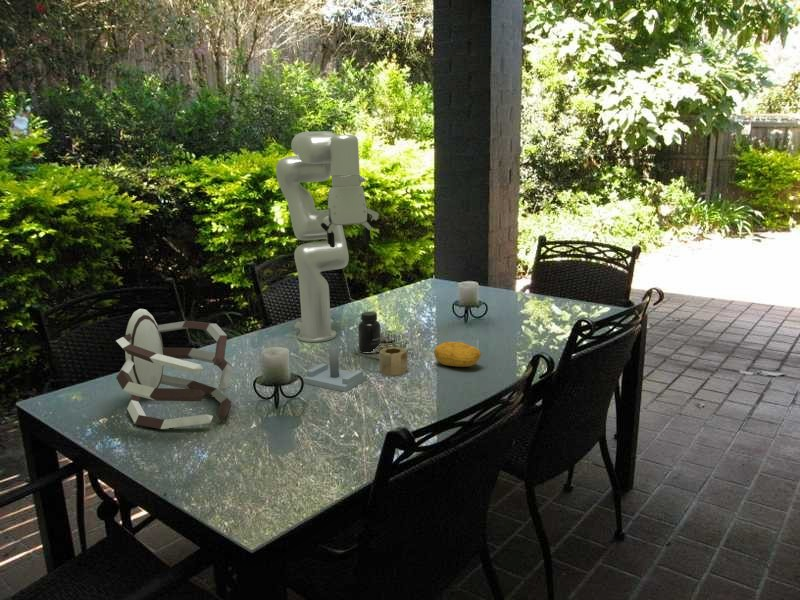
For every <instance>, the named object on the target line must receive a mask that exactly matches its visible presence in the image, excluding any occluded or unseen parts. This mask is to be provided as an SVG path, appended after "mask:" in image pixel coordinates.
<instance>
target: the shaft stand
mask: <svg viewBox="0 0 800 600" xmlns="http://www.w3.org/2000/svg"><path fill="white" fill-rule="evenodd" d="M328 358H329V366H328V363H320V364H318V365H316V366H314V367H312V368H310V369H308V370H306V376H304V377H303V378H302V381H303V380H304V382H305V383H304V384H306V385H311V386H316V387H320V388H324V389H330V390H334V391H338V392H343V393H346V392H348V391H350V390H351V389H353V388H355V387H357V386H359V385H360V384H362V383H363V382H366V381H367V380H368V378H367V377H368V376H367V374H366V373H364V371H363V370H359V369H357V370H355V371H351V370H350V371H349V370H344V369H340V364H339V363H340V362H339V348H338V347H337V346H330V347H329V348H328Z"/></svg>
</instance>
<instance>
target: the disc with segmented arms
mask: <svg viewBox="0 0 800 600" xmlns="http://www.w3.org/2000/svg"><path fill="white" fill-rule="evenodd" d="M156 321H157V320H155V317H154V316H153V315H152V314H151V313H150V312H149V311H148V309H144V308H139V309H137V310H135V311H134V312H133V313H132V315H131V317H130V318H129V320H128V322H127V326H126V331H125V335H124V336H122V337H120V338H118V339H116V340H115V342H116V343H117V344H118V345H119V346H120V347H121V348H122V349H123V350H124V351H125V353H124V354H125V362H124V364H123V365H122V367H121V368H120V371H119V372H118V374H117V375H116V377H115V379H116V381H117V382H118V383H119V386H120V388H121V389H122V390H123V392H126V393H127V394H129V395H131V396H130V399H129V402H128V404H127V407H126V409H127V411H128V413H129V416H130V417H131V419H132V421H133V423H134V422H135V423H136V424H135V423H134V424H135V425H138V424H140V425H139V426H143V427H148V428H154V429H159V430H170V429H169V428H174V429H181V428H187V427H189V428H190V427H193V426H194V427H195V426H196V427H197V426H203V425H210V424H211V422H212V419H213V417H214V415H212V414H211V415H210V414H206V413H205V414H198V415H192V416H190V415H189V416H183V417H176V418H168V419H162V418H157V417H151V416H147V415H146V413H145V411H144V409H143V408H142V406H141V404H140V402H139V401H140V397H141V398H143V399H144V398H145V399H149V400H152V401H156V402H157V401H158V402H201V401H202V400H203V398H204V397H205V396H208V395H209V397H211V396H213V397H212V398H214V397H215V398H214V399H215V400H217V402H219V404H220V405H219V407H218V409H217V413H216V416H217V417H218V418H219V419H220V420H223V419H224V418H225V417H226V416H227V415H228V414H229V410H230V407H231V403H232V401H231V400H230V399H229V398H228V397H227V396H226V395H225V394H224V393H225V392H226V390H227V389H228V387H229V386H230V383H231V379H232V374H233V369H234V367H233V366H232V365H231V364H230V363H229V362H228V361H227V359H225V357H226V356H225V355H226V349H227V340H228V335H227V334H226V332H225V331H223V330H222V328H221V327H220V326H219V325H218V324H217V323H212V322H203V321H202V322H201V321H196V320H195V321H193V320H185V321H177V322H170V323H164V324H158V323H157V322H156ZM184 329H195V330H204V331H205V330H206V332H208V334H209V335H210V336H211V337H212V338H213V339H214V341H215V342H216V346H215V352H213V351H209V350H205V349H200V348H195V347H167V346H166V347H164V345H163V339H162V334H161V333H165V332H171V331H172V332H173V331H177V330H178V331H179V330H184ZM189 360H197V361H201V362H205V363H210V364H213V366H217V367H218V369H220V371H222V372H221V376H220V379H219V384H218V387H217V388H216V387H213V386H210V385H207V384H205V383H201V382H199V381H196V380H192V379H189V378H188V379H187V378H182V377H178V376H171V375H166V374H164V367H167V368H171V369H175V370H179V371H181V372H187V373H190V374H195V375H199V374H201V373H202V372H203V371H204V370H205V369H204V368H203V366H202V364H200V363H195V362H191V361H189ZM161 385H166V386H170V388H167V387H166V388H163V387H162V388H161V387H160V386H161ZM159 387H160V388H159ZM171 387H175V388H171Z"/></svg>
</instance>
